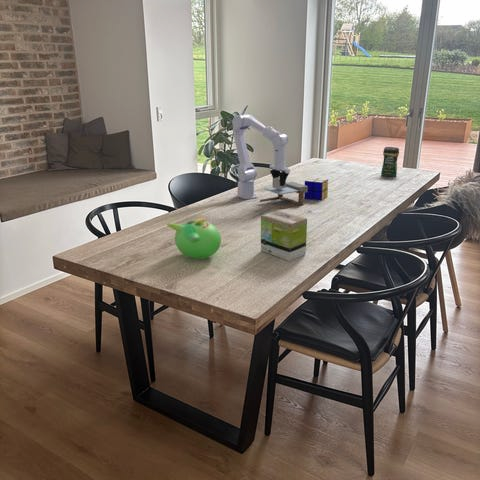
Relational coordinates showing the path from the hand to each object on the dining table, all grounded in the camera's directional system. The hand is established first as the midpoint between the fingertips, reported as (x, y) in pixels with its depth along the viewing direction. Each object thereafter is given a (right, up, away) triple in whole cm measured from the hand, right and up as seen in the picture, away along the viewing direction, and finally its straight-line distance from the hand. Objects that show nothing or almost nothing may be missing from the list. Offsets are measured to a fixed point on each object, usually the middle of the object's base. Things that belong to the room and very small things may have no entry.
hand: (279, 184), depth 252 cm
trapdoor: (+4, -3, +4) cm, 6 cm away
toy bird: (-36, -35, -68) cm, 85 cm away
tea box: (-4, -34, -65) cm, 73 cm away
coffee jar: (+76, +13, +65) cm, 101 cm away
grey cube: (0, -1, 0) cm, 2 cm away
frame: (+1, -9, +4) cm, 10 cm away
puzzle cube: (+21, -6, +14) cm, 26 cm away
